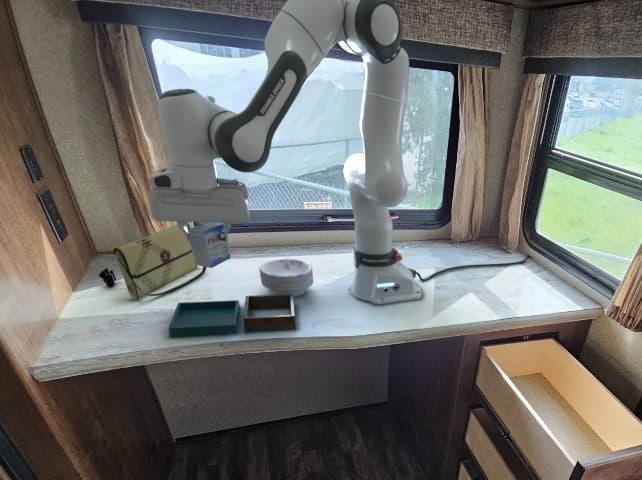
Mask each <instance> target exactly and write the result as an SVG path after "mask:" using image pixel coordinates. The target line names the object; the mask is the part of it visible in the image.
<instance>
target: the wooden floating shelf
mask: <svg viewBox="0 0 642 480" xmlns="http://www.w3.org/2000/svg"><path fill="white" fill-rule="evenodd" d="M244 299H245V300H244V301H245V302H244V308H243V317H242V320H243V325H244V331H245V333H256V332H257V333H258V332H273V331H274V332H275V331H276V332H277V331H291V330H297V324H296V322H297V321H296V311H295V300H294V297H293V294H280V295H275V294H259V295H258V294H255V295H245V298H244ZM273 309H274V310H275V309H290V314H285V315H283V314H281V315H265V316H264V315H262V316H251V315H252V310H253V311H254V310H273Z"/></svg>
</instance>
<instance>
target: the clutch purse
mask: <svg viewBox="0 0 642 480" xmlns="http://www.w3.org/2000/svg"><path fill="white" fill-rule="evenodd" d="M185 227H186V228H187V229H191V228H192V225H190V224H189V222H186V224H185ZM112 254H113V258H114V259H115V260H116V261H117V263H118V266H119V269H120V272H121V274H122V278H123V280H124V283H125V286H126V288H127V291H128V293H129V295H130V297H131V298H132V299H133V300H134V301H138V300H139V299H140V298H142V297H144V296H149V297H157V296H163V295H166V294H168V293H171V292H173V291H175V290H178V289H180V288H183V287H185V286H187V285H189V284H190V283H192V282H194V281H196V280H198V278H200V277H201V276H203V275H204V274H205V273H206V270H207V267H203V266H202V270H201V271H200V272H199V273H198V274H197V275H195V276H194V277H193V278H191V279H189V280H188V281H186V282H184V283H182V284H179V285H177V286H175V287H173V288H170V289H167V290H165V291H162V292H159V293H153V294H152V292H153V291H156V290H157V289H159V288H161V287H162V286H165V285H166V284H169V283H170V282H172V281H174V280H176V279H178V278H180V277H182V276H183V275H186V274H187V273H189V272H191V271H193V270H197V268H198V265H195V261H194V257H193V252H192V248H191V243H190V241H187V240H186V235H185V234H184V233H183V231H182V230H181V229H180V228H179V227H178V225H177V224H174V225H172V226H170V227H167V228H164V229H162V230H159V231H156V232H154V233H151V234H148V235H146V236H143V237H140V238H139V239H136V240H133V241H131V242H128V243H125V244H123V245H121V246H118V247H114V248H113V250H112ZM150 293H151V294H150Z"/></svg>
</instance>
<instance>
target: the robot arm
mask: <svg viewBox="0 0 642 480" xmlns="http://www.w3.org/2000/svg"><path fill="white" fill-rule="evenodd" d="M402 26H403V25H402V18H401V14H400V12H399V8H398V6H397V5H396V3H395V2H394V0H287V1H286V3H285V4H284V5H283V7H282V8H281V9H280V11H279V12H278V13H277V15H276V16H275V17H274V19H273V21H272V23H271V25H270V26H269V29H268V31H267V33H266V36H265V39H264V52H265V56H266V59H267V71H266V74H265V77H264V79H263V80H262V82H261V83H260V85H259V87H258V88H257V90H255V91H256V92H255V93H254V95H253V96H252V97H251V100H250V101H249V103H248V104H247V106H246V107H245V108H244V110H242V111H240V112H238V113H237V112H234V111H231V110H229V109H227V108H225V107H222V106H221V105H218V104H216V103H214V102H213V101H212V100H209V99H208V98H206V97H205V96H203V95H202V94H200V93H199V92H198V91H197V90H195V89H192V88H177V89H171V90H170V89H169V90H166V91H164V92H162V93H161V94H160V96H159V97H158V100H157V110H158V111H157V112H158V118H159V124H160V129H161V133H162V138H163V141H164V143H165V145H166V147H167V151H168V164H169V167H166V168H161V169H158V170H155V171H153V172H152V173H151V174H149V176H148V184H149V186H150V187H151V189H149V192H148V203H149V210H150V214H151V216H152V218H153V219H154V220H155V221H157V222H172V223H173V222H176V225H178V227H179V228H180V229H181V230H182V231H183V233H184V234H185V235H186V240H187V241H190V239H189V235H188V229H187V228H186V227H185V224H186V222H187V223H207V222H218V223H222V224H224V227H225V228H226V230H225V232H221V234H220V235H221V240H222V241H228V242H229V240H230V238H229V232H230V230H231V228H232V224H234V223H235V224H236V223H237V224H247V223H248V222H249V221H250V219H251V212H250V208H249V204H248V201H247V200H248V198H249V191H248V187H247V185H246V184H245V183H244V182H243V181H240V180H239V179H237V178H236V179H235V178H234V179H228V178H219V177H218V173H217V169H216V164H215V163H216V162H215V160H216V159H222V160H223V162H224V163H225V164H226V165H228V167H230V168H231V169H233V170H235V171H237V172H240V173H245V174H246V173H247V174H249V173H254V172H256V171H259V170H261V169H262V168H263V167H264V166H265V164H266V163H267V162H268V159H269V157H270V152H271V148H272V143H273V139H274V136H275V133H276V131H277V130H278V128H279V126H280V125H281V123H282V122H283V120H284V118H285V117H286V115H287V113H288V112H289V111H290V108H291V107H292V105H293V104H294V102H295V100H296V99H297V98H298V96H299V94H300V92H301V90H302V89H303V87H304V86H305V84H306V83H307V82H308V80H309V79H311V77H312V75H313V74H314V73H315V72H316V70H317V69H318V67H319V66H320V65H321V64H322V62H323V61H324V59H325V57H326V56H327V55H328V53H329V52H330V50H331V48H333V47H334V46H336V47H337V48H338V49H339V50H341V51H343V52H344V53H347V54H353V55H357V56H360V57H361V58H362V60H363V63H364V64H363V65H364V69H365V78H364V84H363V93H362V101H361V109H360V110H361V111H360V119H359V131H360V134H361V137H362V145H363V152H357V153H353V154H351V155H350V156H349V157H348V158H347V159H346V161H345V163H344V166H343V175H344V176H343V177H344V179H345V181H346V183H347V188H348V192H349V198H350V204H351V208H352V213H353V219H354V220H353V221H354V240H355V241H354V243H355V245H354V247H353V265H354V275H353V280H352V285H351V289H350V292H351V294H352V295H353V296H354V297H356V298H357V299H360V300H363V301H366V302H370V303H372V304H374V305H378V306H379V305H386V304H387V305H388V304H393V303H399V302H401V303H402V302H407V301H408V302H409V301H414V300H420V298H422V288H421V287H420V286H419V285H418V283H416V281H415V278H416V277H417V276H418V279H419V280H420V281H421V282H426V281H429V280H431V279H432V278H433V277H435V276H438V275H439V274H442V273H444V272H447V271H452V270H457V269H464V268H475V267H478V268H479V267H499V266H511V265H520V264H523V263H525V262H527V260H528V259H529V258H531V257H532V255H530V254H527V255H526V257H525V258H524V259H523V260H520V261H513V262H504V263H503V262H502V263H486V264H485V263H484V264H481V263H480V264H466V265H457V266H452V267H448V268H444V269H442V270H439V271H436V272H434V273H432V274H431V275H430V276H429V277H427V278H423V277H422V275H421V274H420V273H419V272H418V271H417V270H415V269H412V268H409V267H407V266H406V265H405V264H403V263H402V262H401V261H402V260H403V256H402V254H401V253H400V252H399V251H398V250H397V249H396V248H395V247H394V246H393V235H394V233H393V231H394V225H393V220H392V217H391V215H390V211H389V208H394V207H395V208H396V207H397V206H399V205H400V204H401V203H403V201H404V200H405V199H406V196H407V193H408V180H407V177H406V175H405V171H404V164H403V163H404V162H403V131H404V123H405V117H406V110H407V104H408V103H407V102H408V95H409V87H410V85H409V83H410V59H409V55H408V52H407V51H406V50H405V49H404V48H403V37H402V34H403V27H402ZM529 255H530V256H529Z"/></svg>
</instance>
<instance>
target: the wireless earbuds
mask: <svg viewBox="0 0 642 480" xmlns="http://www.w3.org/2000/svg"><path fill="white" fill-rule="evenodd" d="M98 277H99V278H100V279H102V281H103V283H104V284H105V285H106V287H108V288H112V287H114V285H115V283H116V282H115V281H117V278H116V275H115V273H114V270H112V269H110V270H109V269H108V268H104V269H103V270H101V271H100V272H99V274H98Z"/></svg>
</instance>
